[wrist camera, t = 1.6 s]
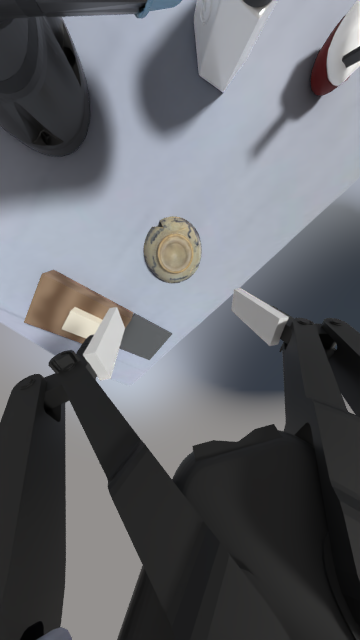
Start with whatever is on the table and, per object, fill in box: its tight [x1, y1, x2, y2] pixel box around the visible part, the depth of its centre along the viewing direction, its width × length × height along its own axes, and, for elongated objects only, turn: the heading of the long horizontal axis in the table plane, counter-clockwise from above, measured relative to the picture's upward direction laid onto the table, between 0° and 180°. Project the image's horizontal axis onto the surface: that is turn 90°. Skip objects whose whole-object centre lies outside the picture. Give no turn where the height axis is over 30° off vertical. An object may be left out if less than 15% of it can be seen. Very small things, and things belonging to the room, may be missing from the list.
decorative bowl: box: [144, 217, 201, 283], centre depth 33 cm, size 15×4×15 cm
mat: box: [119, 314, 172, 360], centre depth 46 cm, size 14×14×1 cm
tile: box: [62, 307, 102, 338], centre depth 35 cm, size 9×6×2 cm, turn 51°
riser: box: [24, 270, 133, 344], centre depth 36 cm, size 20×14×4 cm
